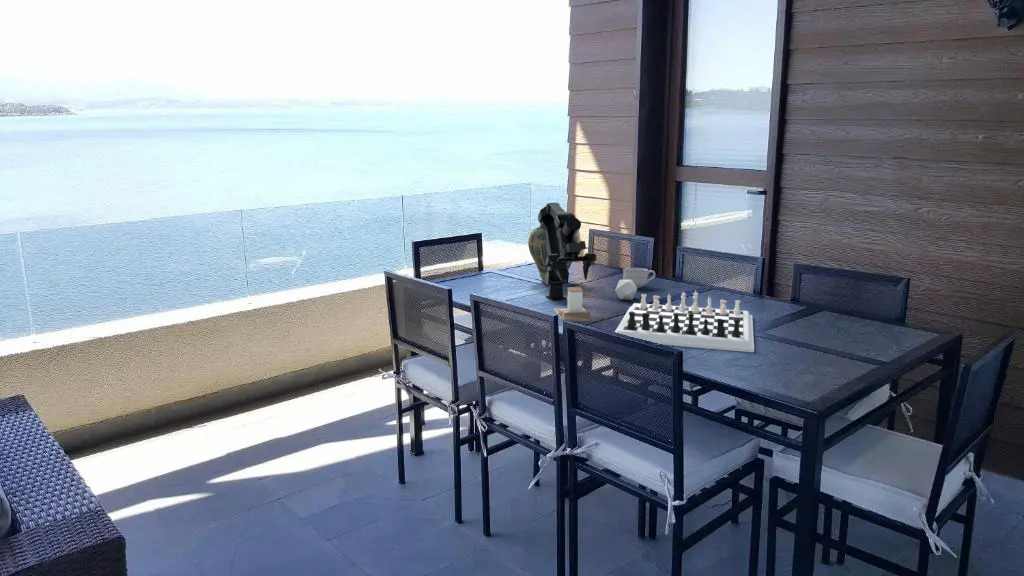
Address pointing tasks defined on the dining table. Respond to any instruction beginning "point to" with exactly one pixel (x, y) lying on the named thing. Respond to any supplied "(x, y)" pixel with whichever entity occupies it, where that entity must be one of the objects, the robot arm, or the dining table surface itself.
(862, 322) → the dining table surface
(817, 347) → the dining table surface
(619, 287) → the die
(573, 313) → the tray
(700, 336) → the chess set
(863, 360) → the dining table surface
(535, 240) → the vase
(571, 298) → the block
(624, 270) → the teacup
